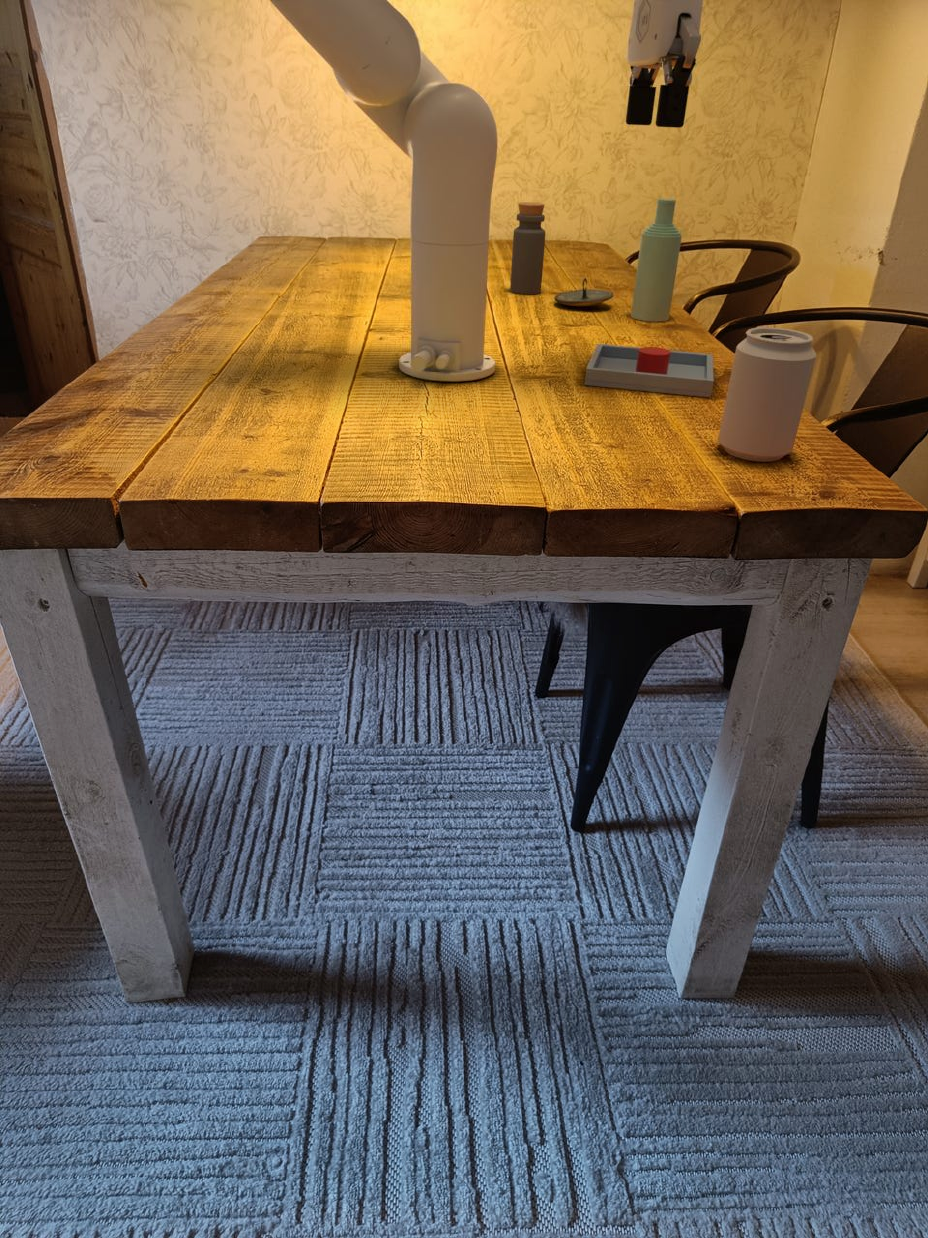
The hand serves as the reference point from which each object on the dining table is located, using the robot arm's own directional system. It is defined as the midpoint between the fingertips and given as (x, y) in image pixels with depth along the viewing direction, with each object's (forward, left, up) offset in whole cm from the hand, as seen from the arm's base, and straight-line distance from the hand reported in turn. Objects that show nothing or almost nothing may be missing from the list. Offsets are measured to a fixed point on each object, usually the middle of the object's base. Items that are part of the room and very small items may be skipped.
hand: (653, 125), depth 99 cm
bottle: (+48, +22, -28) cm, 60 cm away
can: (-29, -16, -28) cm, 44 cm away
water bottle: (+34, -2, -28) cm, 44 cm away
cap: (-4, -4, -28) cm, 28 cm away
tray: (-4, -4, -28) cm, 29 cm away
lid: (+39, +10, -28) cm, 49 cm away
